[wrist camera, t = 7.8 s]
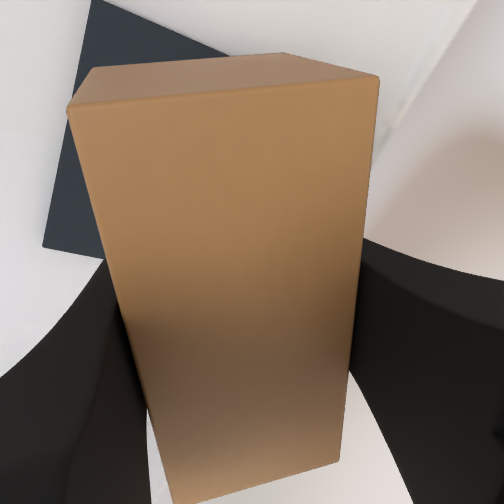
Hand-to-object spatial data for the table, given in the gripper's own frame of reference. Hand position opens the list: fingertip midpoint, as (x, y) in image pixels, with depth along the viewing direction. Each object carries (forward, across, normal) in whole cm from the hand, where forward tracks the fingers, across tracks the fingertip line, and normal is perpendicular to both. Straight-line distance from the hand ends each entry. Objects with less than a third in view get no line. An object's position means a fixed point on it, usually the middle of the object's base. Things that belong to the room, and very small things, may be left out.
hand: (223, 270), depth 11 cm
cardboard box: (+1, 0, 0) cm, 1 cm away
